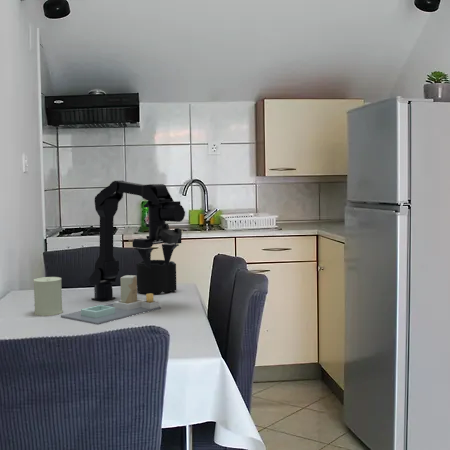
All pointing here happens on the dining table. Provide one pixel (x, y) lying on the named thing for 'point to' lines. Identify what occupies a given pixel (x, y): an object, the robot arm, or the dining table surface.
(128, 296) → the box
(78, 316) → the grey board
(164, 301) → the dining table surface
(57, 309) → the can
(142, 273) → the black basket
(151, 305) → the frame
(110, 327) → the dining table surface
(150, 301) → the button
